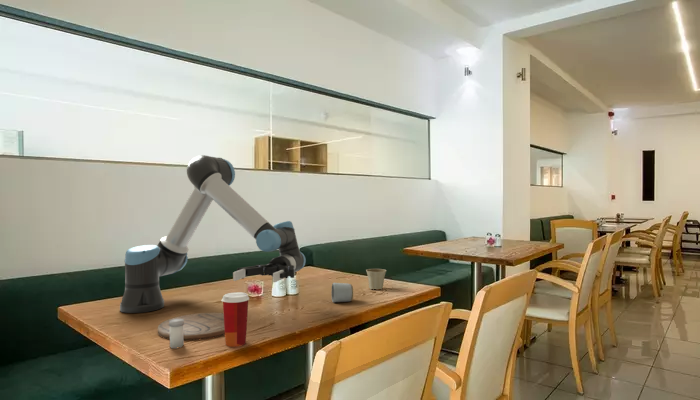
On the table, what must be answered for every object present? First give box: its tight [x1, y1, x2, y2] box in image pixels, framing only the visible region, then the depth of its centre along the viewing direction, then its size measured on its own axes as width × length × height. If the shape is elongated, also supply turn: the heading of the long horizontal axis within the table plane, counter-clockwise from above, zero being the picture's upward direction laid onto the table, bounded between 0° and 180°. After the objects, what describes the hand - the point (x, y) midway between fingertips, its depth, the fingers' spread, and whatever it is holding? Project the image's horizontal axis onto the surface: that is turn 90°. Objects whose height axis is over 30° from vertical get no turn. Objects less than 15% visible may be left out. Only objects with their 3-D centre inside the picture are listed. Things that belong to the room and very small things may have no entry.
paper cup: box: [220, 291, 250, 348], centre depth 122 cm, size 8×8×14 cm
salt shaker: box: [169, 319, 185, 349], centre depth 120 cm, size 4×4×7 cm
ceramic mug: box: [331, 282, 354, 303], centre depth 174 cm, size 11×8×8 cm
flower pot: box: [365, 268, 387, 290], centre depth 197 cm, size 9×9×9 cm
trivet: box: [157, 312, 225, 341], centre depth 138 cm, size 25×25×2 cm
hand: (253, 277), depth 132 cm, fingers open, 13 cm apart
